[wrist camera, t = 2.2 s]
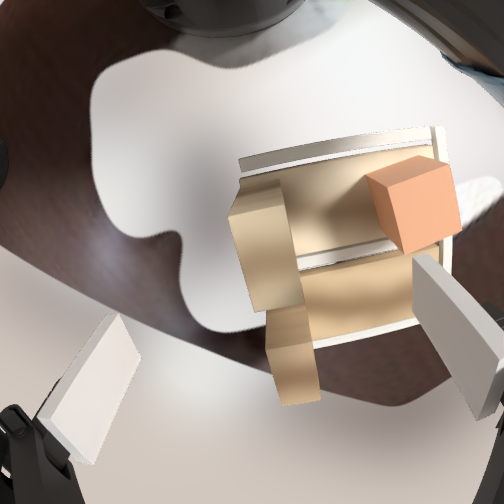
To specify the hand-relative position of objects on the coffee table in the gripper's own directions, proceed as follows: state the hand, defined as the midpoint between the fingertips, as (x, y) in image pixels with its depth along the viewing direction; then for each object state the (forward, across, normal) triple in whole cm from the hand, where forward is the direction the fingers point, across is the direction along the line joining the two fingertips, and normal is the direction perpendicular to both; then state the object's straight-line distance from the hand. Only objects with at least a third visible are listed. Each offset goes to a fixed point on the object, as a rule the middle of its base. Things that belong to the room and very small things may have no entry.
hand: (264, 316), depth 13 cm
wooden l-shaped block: (+14, +7, -9) cm, 18 cm away
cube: (+13, +11, 0) cm, 17 cm away
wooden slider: (+14, +7, 0) cm, 16 cm away
